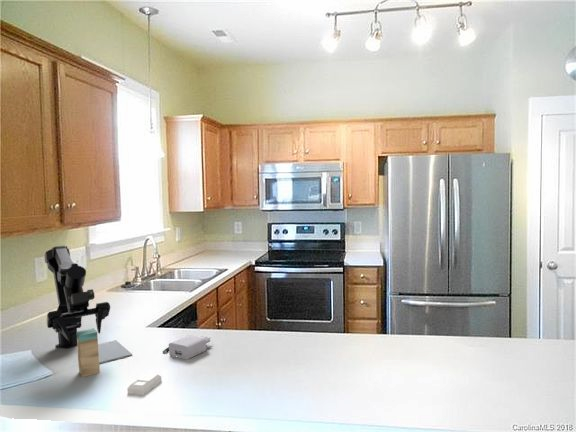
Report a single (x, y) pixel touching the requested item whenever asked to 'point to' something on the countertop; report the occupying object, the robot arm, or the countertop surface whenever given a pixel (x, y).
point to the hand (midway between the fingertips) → (84, 336)
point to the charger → (188, 346)
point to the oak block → (88, 352)
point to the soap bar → (144, 384)
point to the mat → (112, 351)
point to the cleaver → (167, 349)
